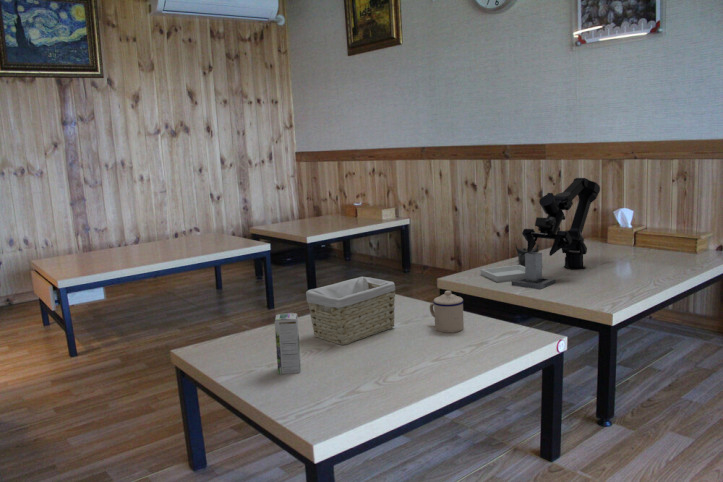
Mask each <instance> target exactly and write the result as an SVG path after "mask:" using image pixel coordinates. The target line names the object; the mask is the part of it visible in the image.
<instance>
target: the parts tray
mask: <svg viewBox="0 0 723 482" xmlns="http://www.w3.org/2000/svg"><path fill="white" fill-rule="evenodd" d="M479 273H480V276H481V277H484V278H485V279H488V280H491V281H493V282H495V283H505V282H512V281H514V280H517V279H519V278H522V277H525V267H524V266H522V265H520V264H515V265H507V266H506V265H504V266H499V267H498V266H497V267H490V268H481V269H480V270H479Z"/></svg>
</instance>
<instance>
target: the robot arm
mask: <svg viewBox="0 0 723 482" xmlns="http://www.w3.org/2000/svg"><path fill="white" fill-rule="evenodd" d="M600 191H601V186H600V185H599V184H598V183H597V182H595V181H593V180H590V179H589V178H586V177H576V178H574V179H573V181H572V182H571V183H570V185H568V187H566V188H565V189H564V191H563V192H560V193H556V194H555V195H554V193H553V192H547V194H546V195H543V196H542V197H541V198H540V199H539V201H538V202H539V205H540V207H541V208H542V211H543V212H544V214H546V215H547V217H539V216H538V217H536V218H535V223H534V226H535V227H537V230H538V232H536V231H535V229H533V228H524V229H523V231H522V233H521V234H522V237H523V238H524V239H525V240H526V242H527V248H528V249H527V248H526V249H527V252H528V253H529V252H531V251H532V249H535V248H534V247H536V245H537V241H538V239H546V240H554V241H553V244H552V246H551V248H550V250H549V253H548V255H549V256H553V255H554V254H556V253H557V252H558V251H559V250H560V249H561V250H562V251H561V253H562V254H565V257H564V265H563V268H567V269H570V270H578V269H585V268H586V266H585V265H584V255H587V252H588V247H587V245H586V244H585V238H584V236H583V231H584V227H585V223H586V220H587V217H588V214H589V211H590V208H591V204H592V203H593V202H594V201H595V200H596V199H597V198H598V195H599V193H600ZM577 196H578V198H579V200H578V203H577V206H576V209H575V212H574V216H573V218H572V219H573V220H572V223H571V225H570V229H568V230H561V227H560V225H561V223H562V221H565V220H566V216H565V213H564V211H569V210H570V209H571V208H572V207H573V204H574V203H573V201H574V199H575V198H576V197H577Z"/></svg>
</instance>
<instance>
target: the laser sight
mask: <svg viewBox="0 0 723 482" xmlns="http://www.w3.org/2000/svg"><path fill="white" fill-rule="evenodd" d="M514 246H515V249H516V252H517V259H518V262H519V265H522V266H524V267H525V254H526V253H528V252H527V249H528V247H521V248H519V247H518V246H517V244H515V245H514ZM539 247H540V245H539V243H536V245H535V248H533V249H532V251H531V252H539V249H540V248H539ZM539 253H540V252H539Z"/></svg>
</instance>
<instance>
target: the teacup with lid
mask: <svg viewBox="0 0 723 482" xmlns="http://www.w3.org/2000/svg"><path fill="white" fill-rule="evenodd" d="M464 303H465V302H464V299H463V298H462V297H461V296H457V295H456V294H453V293H452V290H446V291H444V294H441V295H440V296H437V297H435V298H434V299H433V302H431V303H430V305H429V312H430V314H431V316H432V317H433V318H434V328H435V331H438V332H440V333H447V334H448V333H451V334H452V333H457V332H460V331H462V330H464V328H465V327H464V323H465V322H464Z"/></svg>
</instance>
